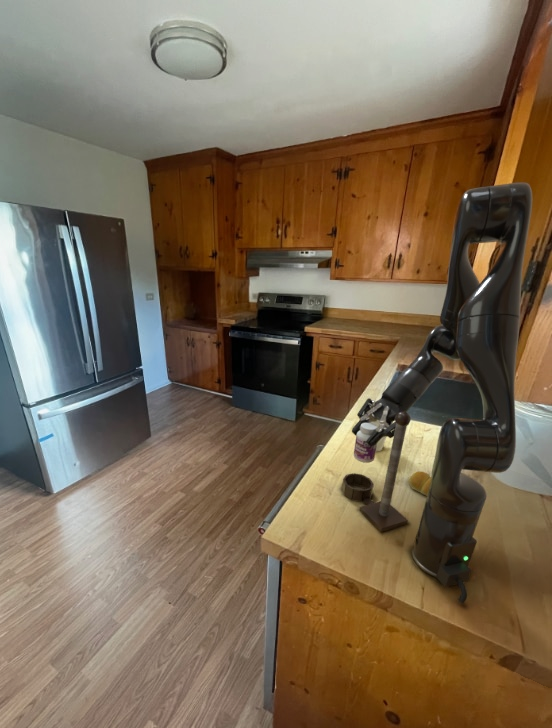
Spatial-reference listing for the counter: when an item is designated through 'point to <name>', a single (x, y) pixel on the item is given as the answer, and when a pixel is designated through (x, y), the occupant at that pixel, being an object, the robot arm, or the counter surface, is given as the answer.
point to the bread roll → (420, 482)
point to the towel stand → (382, 511)
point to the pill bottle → (365, 443)
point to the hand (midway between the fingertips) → (361, 438)
